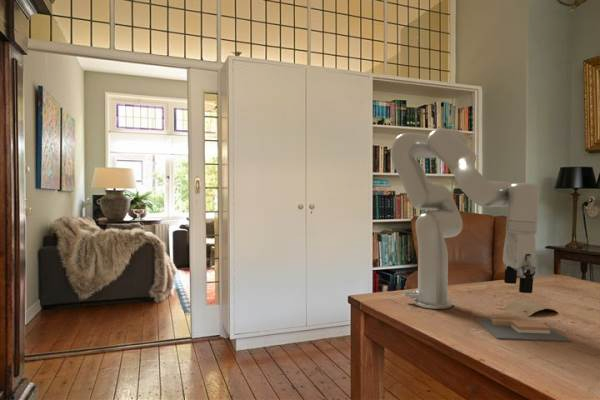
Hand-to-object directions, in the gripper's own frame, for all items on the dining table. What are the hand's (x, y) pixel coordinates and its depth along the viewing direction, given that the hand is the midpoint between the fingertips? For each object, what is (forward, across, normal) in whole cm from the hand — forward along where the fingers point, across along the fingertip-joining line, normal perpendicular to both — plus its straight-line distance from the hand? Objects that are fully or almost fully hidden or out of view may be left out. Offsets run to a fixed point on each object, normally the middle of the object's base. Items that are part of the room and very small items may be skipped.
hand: (517, 287), depth 114 cm
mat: (+11, +3, 0) cm, 11 cm away
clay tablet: (+12, -17, +12) cm, 24 cm away
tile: (+10, +1, +2) cm, 10 cm away
